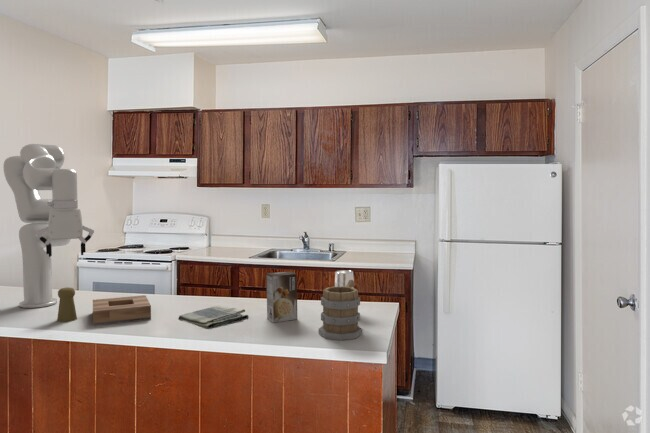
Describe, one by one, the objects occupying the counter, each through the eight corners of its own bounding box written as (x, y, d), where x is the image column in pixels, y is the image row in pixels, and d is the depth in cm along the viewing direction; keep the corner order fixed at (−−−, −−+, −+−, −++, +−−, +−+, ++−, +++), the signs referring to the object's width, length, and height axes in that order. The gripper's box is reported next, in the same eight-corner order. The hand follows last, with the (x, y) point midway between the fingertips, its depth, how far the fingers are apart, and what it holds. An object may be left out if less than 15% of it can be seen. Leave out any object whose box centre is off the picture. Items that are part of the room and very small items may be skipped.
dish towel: (176, 320, 165) (176, 311, 165) (219, 310, 179) (219, 302, 179) (208, 330, 153) (208, 320, 153) (251, 319, 167) (251, 310, 167)
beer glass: (356, 311, 177) (356, 270, 176) (349, 315, 170) (349, 273, 170) (339, 309, 180) (339, 269, 179) (331, 313, 173) (331, 272, 173)
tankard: (352, 342, 141) (353, 292, 140) (313, 337, 145) (313, 288, 145) (372, 324, 159) (373, 280, 158) (337, 320, 164) (337, 277, 163)
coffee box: (290, 315, 170) (290, 270, 169) (297, 319, 165) (297, 273, 164) (266, 318, 166) (266, 272, 165) (272, 323, 160) (272, 275, 160)
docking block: (93, 312, 173) (92, 299, 172) (145, 307, 181) (145, 295, 180) (93, 325, 157) (92, 311, 156) (151, 319, 164) (150, 305, 164)
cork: (68, 322, 160) (67, 290, 160) (52, 321, 161) (52, 289, 161) (81, 317, 166) (80, 286, 166) (65, 316, 167) (65, 285, 167)
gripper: (34, 206, 154) (35, 258, 155) (93, 205, 162) (94, 255, 163) (36, 205, 161) (38, 255, 162) (93, 204, 169) (94, 252, 170)
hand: (66, 255), depth 163 cm, fingers open, 9 cm apart
